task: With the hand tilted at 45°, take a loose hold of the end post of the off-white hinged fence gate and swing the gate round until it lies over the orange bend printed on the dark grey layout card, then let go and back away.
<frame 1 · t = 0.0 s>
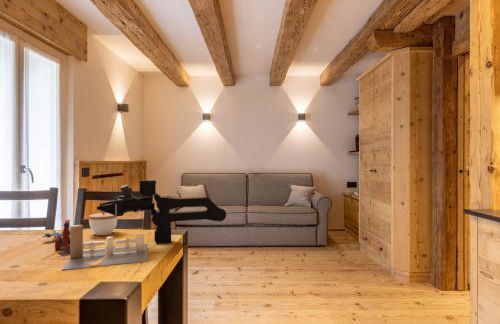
hand: (98, 206, 126), 17 cm above the table, tool horizontal, fingers open, 9 cm apart
lidded bowl: (103, 233, 152), on the table
toy airplane: (58, 239, 141), on the table
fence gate: (87, 240, 113), point 6 cm above the table, hinge at 0.0°
fence fixed: (110, 254, 116), resting on layout card
layout card: (109, 255, 115), on the table
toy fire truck: (66, 247, 128), on the table
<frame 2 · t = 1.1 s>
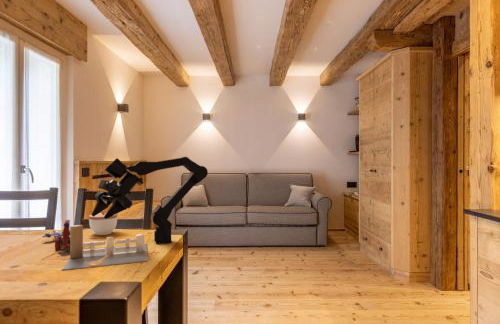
hand: (98, 216, 119), 14 cm above the table, tool tilted 45°, fingers open, 9 cm apart
nothing on the table moved.
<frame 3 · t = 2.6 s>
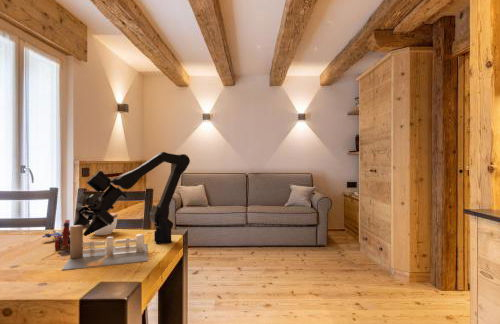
hand: (77, 233, 113), 9 cm above the table, tool tilted 45°, fingers open, 9 cm apart
nothing on the table moved.
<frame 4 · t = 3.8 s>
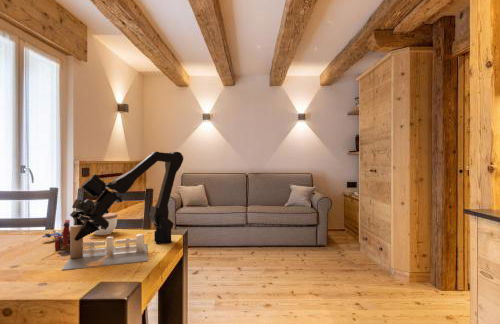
hand: (72, 239, 111), 7 cm above the table, tool tilted 45°, fingers closed on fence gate, 4 cm apart
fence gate: (87, 240, 113), point 6 cm above the table, hinge at 0.0°, touching gripper
everything else where it was.
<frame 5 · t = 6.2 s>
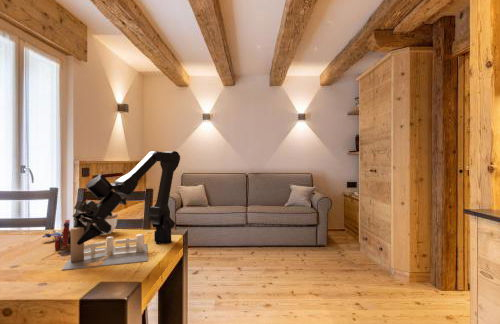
hand: (73, 242, 106), 7 cm above the table, tool tilted 45°, fingers open, 7 cm apart
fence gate: (88, 242, 111), point 6 cm above the table, hinge at 24.8°, touching gripper
everything else where it was.
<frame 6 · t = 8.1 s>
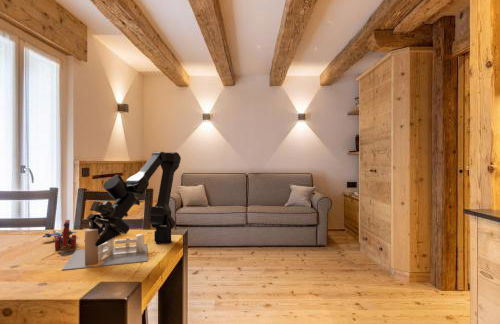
hand: (90, 244, 104), 7 cm above the table, tool tilted 45°, fingers open, 7 cm apart
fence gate: (98, 243, 108), point 6 cm above the table, hinge at 63.7°
everything else where it was.
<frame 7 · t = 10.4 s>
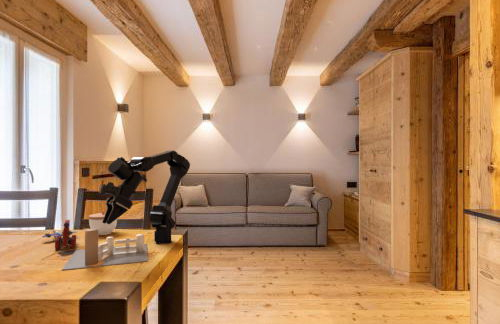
hand: (105, 223, 112), 12 cm above the table, tool tilted 35°, fingers open, 9 cm apart
nothing on the table moved.
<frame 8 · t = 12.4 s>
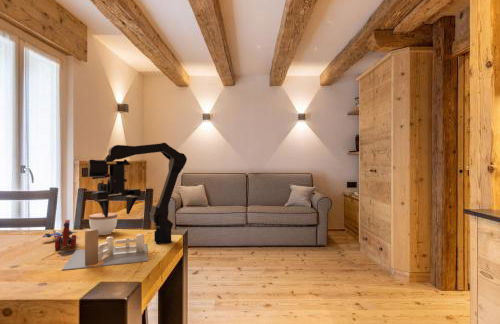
hand: (117, 215, 125), 13 cm above the table, tool pointing down, fingers open, 9 cm apart
nothing on the table moved.
at the end: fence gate at +64° (first picture: +0°); the gripper is holding nothing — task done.
